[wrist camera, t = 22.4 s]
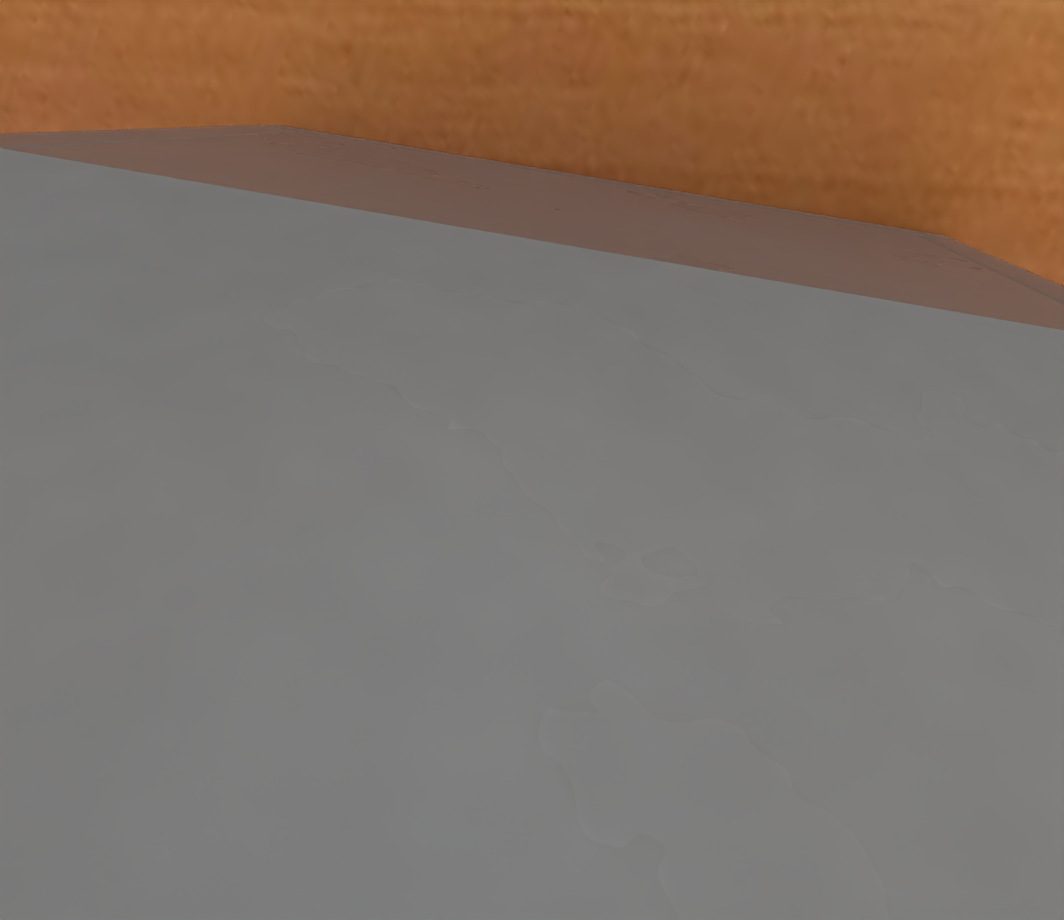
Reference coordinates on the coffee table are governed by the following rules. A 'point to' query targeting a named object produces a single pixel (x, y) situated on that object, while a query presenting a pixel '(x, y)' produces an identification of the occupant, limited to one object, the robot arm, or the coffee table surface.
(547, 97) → the coffee table surface
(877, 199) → the coffee table surface
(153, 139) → the freezer
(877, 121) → the coffee table surface
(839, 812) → the freezer lid
